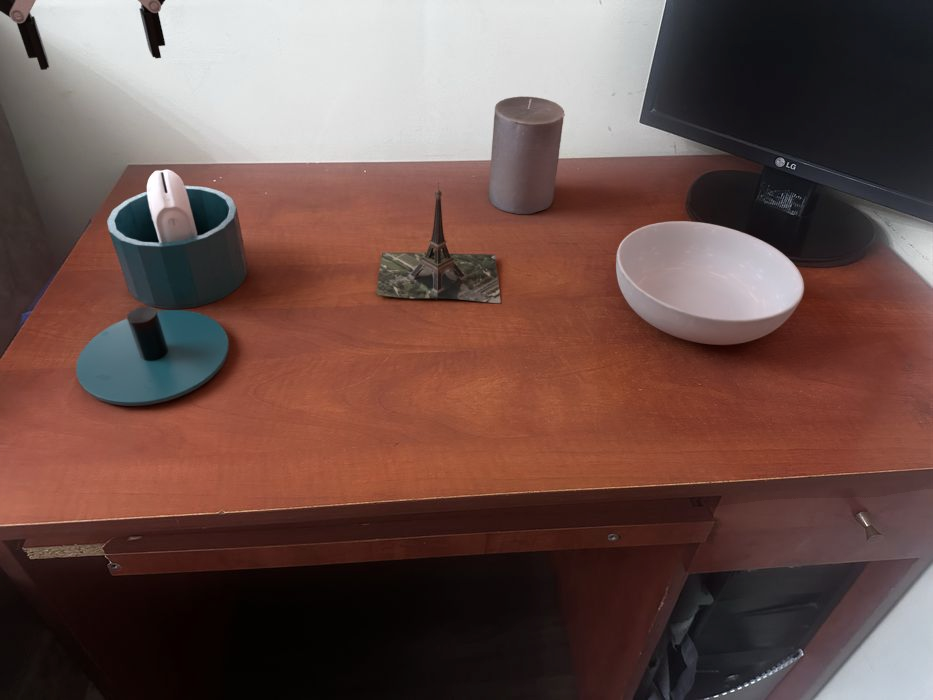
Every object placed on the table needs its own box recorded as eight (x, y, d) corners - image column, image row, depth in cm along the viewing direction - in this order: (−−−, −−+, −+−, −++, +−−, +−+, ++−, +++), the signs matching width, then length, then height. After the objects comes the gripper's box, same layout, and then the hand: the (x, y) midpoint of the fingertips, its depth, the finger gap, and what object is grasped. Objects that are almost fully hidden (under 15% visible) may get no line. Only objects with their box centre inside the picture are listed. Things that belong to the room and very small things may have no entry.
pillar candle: (494, 180, 110) (500, 83, 100) (556, 188, 109) (569, 91, 99) (482, 210, 102) (488, 108, 93) (549, 219, 101) (562, 117, 92)
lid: (85, 428, 67) (64, 381, 63) (73, 338, 77) (55, 292, 73) (244, 384, 73) (234, 338, 69) (214, 305, 83) (203, 260, 79)
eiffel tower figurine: (496, 257, 93) (503, 162, 84) (500, 303, 85) (508, 203, 77) (382, 255, 92) (377, 159, 84) (375, 300, 85) (369, 200, 76)
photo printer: (211, 291, 84) (189, 197, 76) (173, 298, 83) (146, 203, 75) (200, 248, 91) (178, 157, 83) (165, 254, 90) (139, 163, 82)
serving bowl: (823, 337, 82) (846, 288, 78) (688, 393, 74) (705, 342, 70) (698, 250, 96) (711, 205, 92) (572, 290, 88) (580, 242, 83)
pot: (136, 321, 80) (115, 257, 74) (121, 258, 90) (101, 198, 84) (260, 292, 85) (248, 230, 80) (233, 236, 95) (221, 177, 89)
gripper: (-96, -162, 50) (-3, 83, 61) (162, -159, 56) (203, 62, 67) (-87, -170, 55) (-3, 57, 66) (148, -167, 62) (189, 39, 72)
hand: (101, 59), depth 67 cm, fingers open, 9 cm apart
